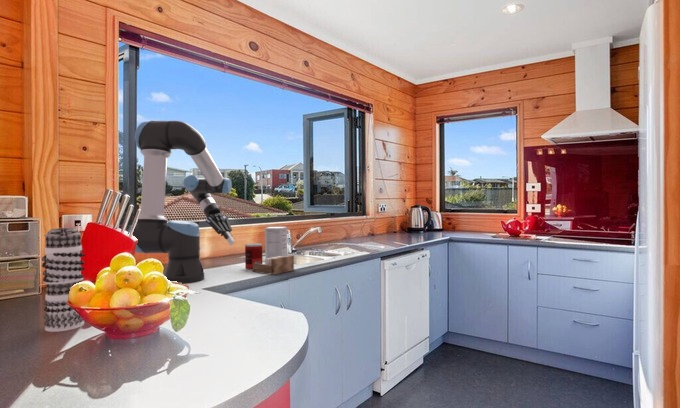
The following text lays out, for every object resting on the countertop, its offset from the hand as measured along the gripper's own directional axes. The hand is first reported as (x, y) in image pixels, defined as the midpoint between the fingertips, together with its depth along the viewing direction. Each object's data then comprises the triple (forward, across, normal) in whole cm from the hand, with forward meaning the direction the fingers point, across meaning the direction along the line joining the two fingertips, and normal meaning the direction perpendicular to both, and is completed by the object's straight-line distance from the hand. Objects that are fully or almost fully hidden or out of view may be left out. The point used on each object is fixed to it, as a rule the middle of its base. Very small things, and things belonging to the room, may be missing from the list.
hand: (232, 243), depth 198 cm
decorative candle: (+35, +88, +21) cm, 97 cm away
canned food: (+19, +2, +4) cm, 20 cm away
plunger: (+27, +2, +13) cm, 30 cm away
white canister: (+12, -25, -3) cm, 28 cm away
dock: (+27, +2, +13) cm, 30 cm away
